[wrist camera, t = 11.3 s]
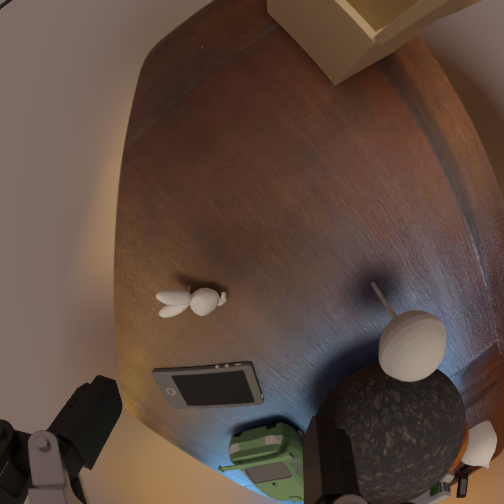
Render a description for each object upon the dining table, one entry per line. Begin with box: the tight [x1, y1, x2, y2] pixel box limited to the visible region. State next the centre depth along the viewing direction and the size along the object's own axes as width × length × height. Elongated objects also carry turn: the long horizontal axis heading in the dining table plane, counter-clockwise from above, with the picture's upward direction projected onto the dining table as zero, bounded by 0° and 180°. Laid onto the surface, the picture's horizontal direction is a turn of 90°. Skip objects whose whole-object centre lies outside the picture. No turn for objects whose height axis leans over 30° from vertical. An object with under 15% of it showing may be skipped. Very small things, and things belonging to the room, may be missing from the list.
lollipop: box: [371, 282, 446, 382], centre depth 24 cm, size 6×6×15 cm
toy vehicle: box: [408, 470, 455, 504], centre depth 45 cm, size 9×18×10 cm, turn 139°
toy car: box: [218, 423, 304, 502], centre depth 39 cm, size 12×30×10 cm, turn 31°
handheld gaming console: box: [457, 465, 479, 498], centre depth 44 cm, size 9×12×10 cm
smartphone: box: [152, 362, 264, 408], centre depth 37 cm, size 15×8×1 cm, turn 103°
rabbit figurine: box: [156, 287, 227, 318], centre depth 31 cm, size 6×4×8 cm
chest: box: [267, 0, 436, 86], centre depth 16 cm, size 11×9×13 cm
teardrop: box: [461, 421, 497, 468], centre depth 36 cm, size 11×11×12 cm
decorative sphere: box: [316, 362, 466, 504], centre depth 27 cm, size 20×20×20 cm
